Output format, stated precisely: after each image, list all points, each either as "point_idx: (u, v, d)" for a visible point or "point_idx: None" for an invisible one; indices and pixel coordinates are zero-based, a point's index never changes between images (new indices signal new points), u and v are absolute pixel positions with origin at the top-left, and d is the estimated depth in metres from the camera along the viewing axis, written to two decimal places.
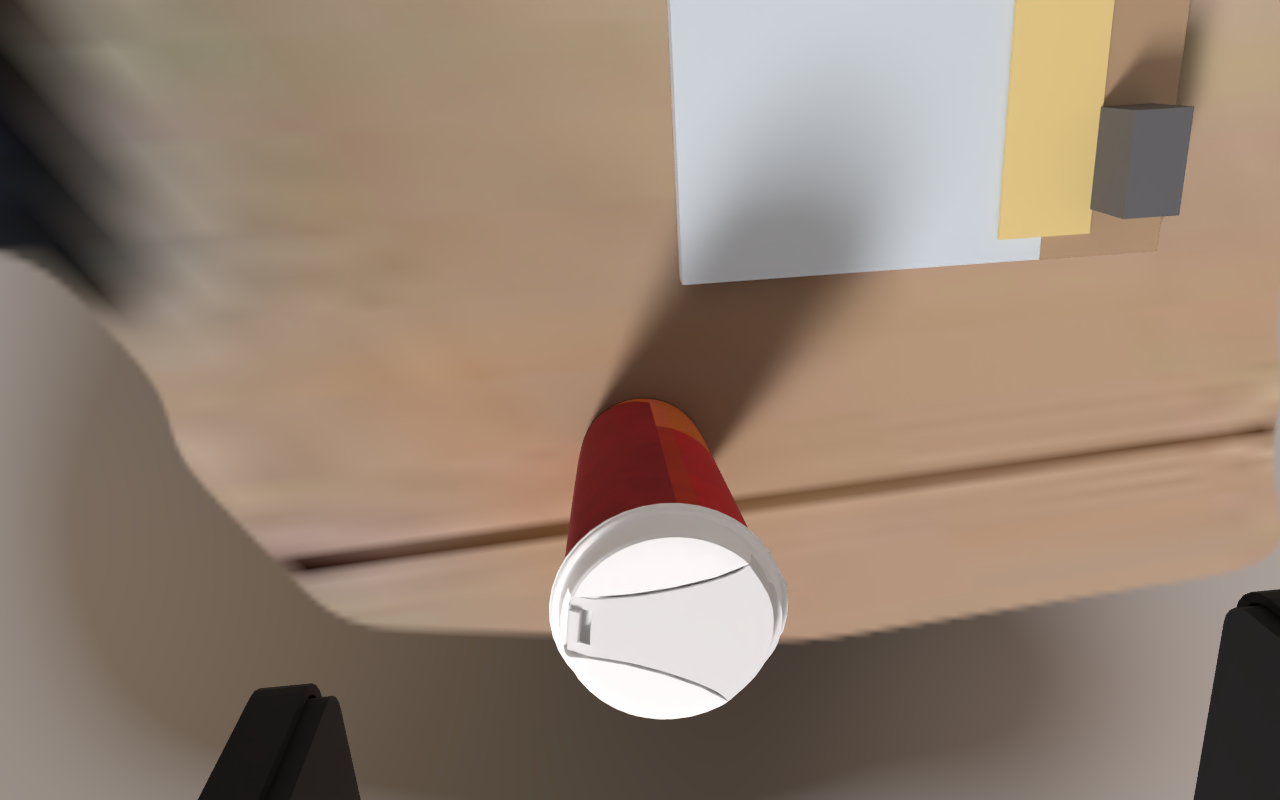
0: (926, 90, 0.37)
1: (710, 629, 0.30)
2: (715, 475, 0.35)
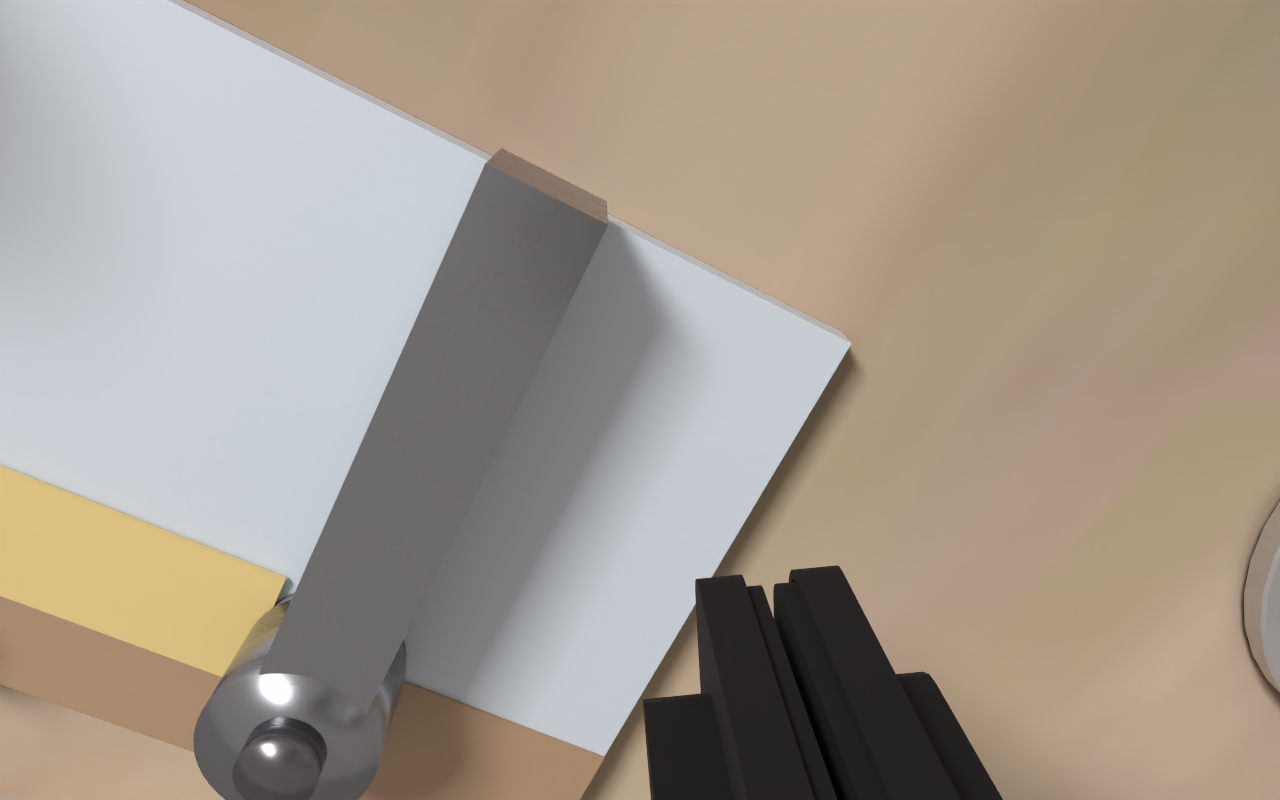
0: (35, 361, 0.24)
1: None
2: None
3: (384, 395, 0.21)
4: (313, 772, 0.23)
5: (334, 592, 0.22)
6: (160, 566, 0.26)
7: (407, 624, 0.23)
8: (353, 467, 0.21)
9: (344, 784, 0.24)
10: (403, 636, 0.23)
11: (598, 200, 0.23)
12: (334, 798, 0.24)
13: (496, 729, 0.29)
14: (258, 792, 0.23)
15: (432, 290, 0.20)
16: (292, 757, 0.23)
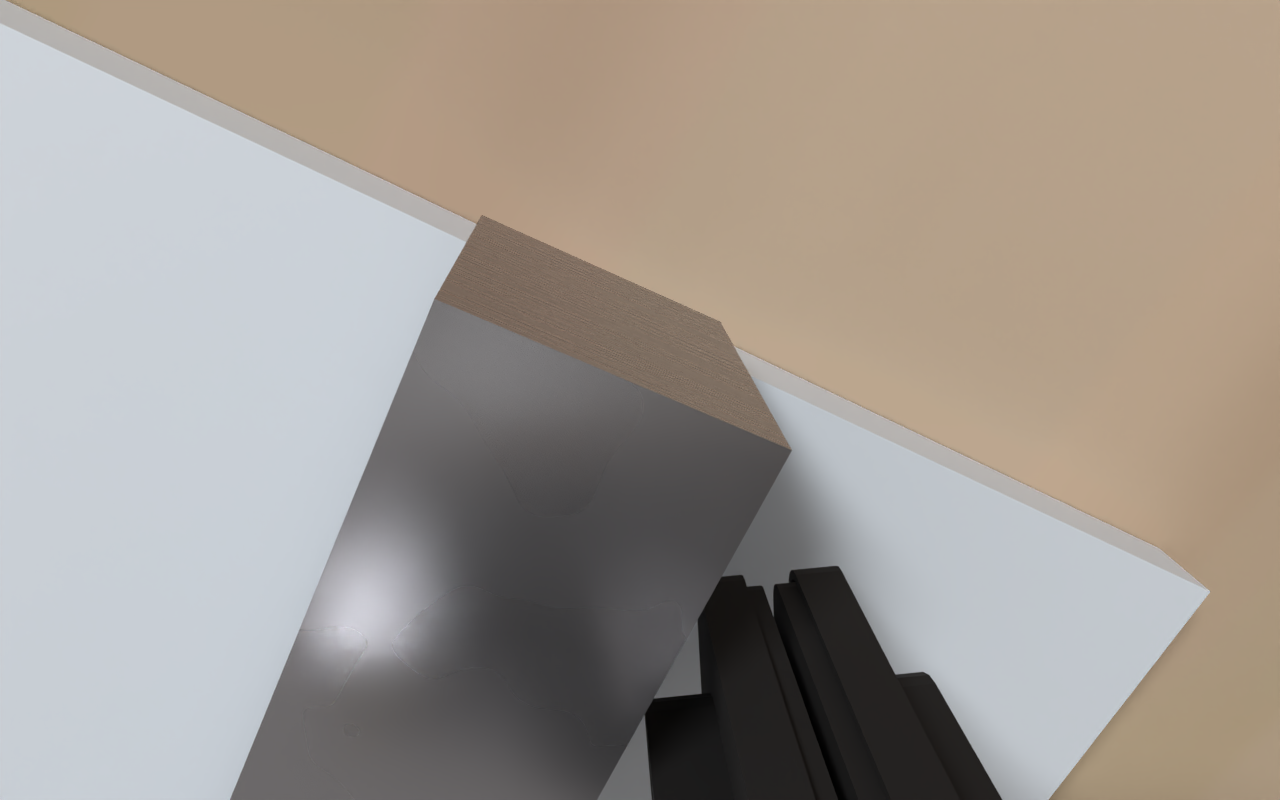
0: None
1: None
2: None
3: None
4: None
5: None
6: None
7: None
8: None
9: None
10: None
11: (709, 328, 0.10)
12: None
13: None
14: None
15: (304, 640, 0.07)
16: None
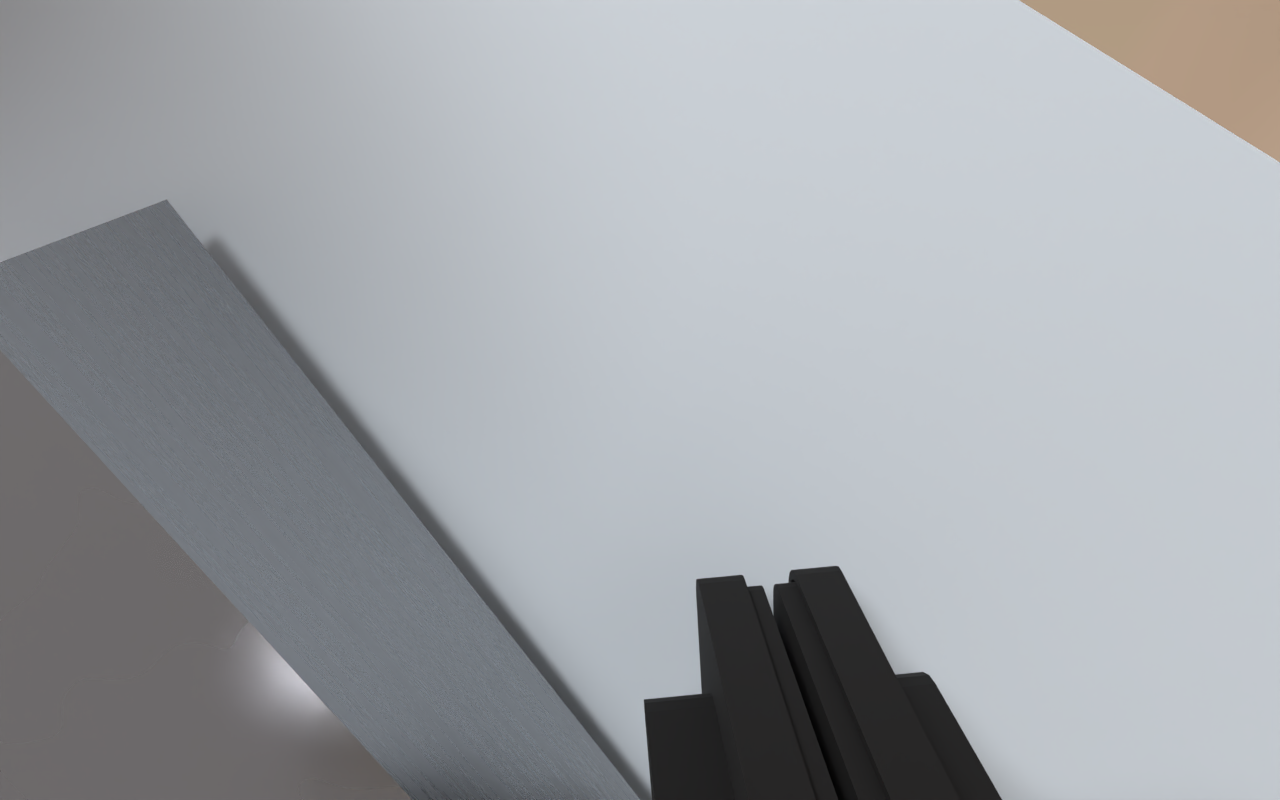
0: None
1: None
2: None
3: None
4: None
5: None
6: None
7: None
8: None
9: None
10: None
11: None
12: None
13: None
14: None
15: None
16: None
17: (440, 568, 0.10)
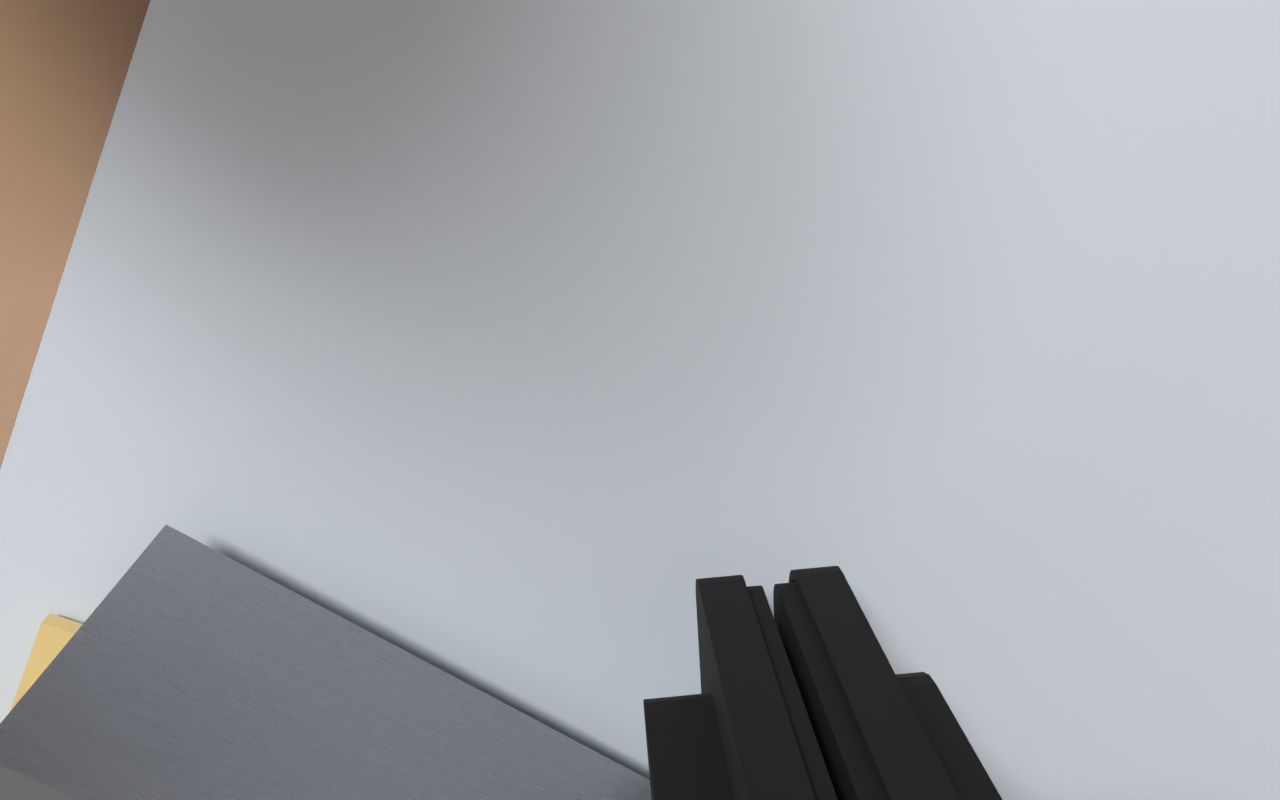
0: (628, 572, 0.12)
1: None
2: None
3: None
4: None
5: None
6: None
7: None
8: None
9: None
10: None
11: None
12: None
13: None
14: None
15: None
16: None
17: (521, 734, 0.11)
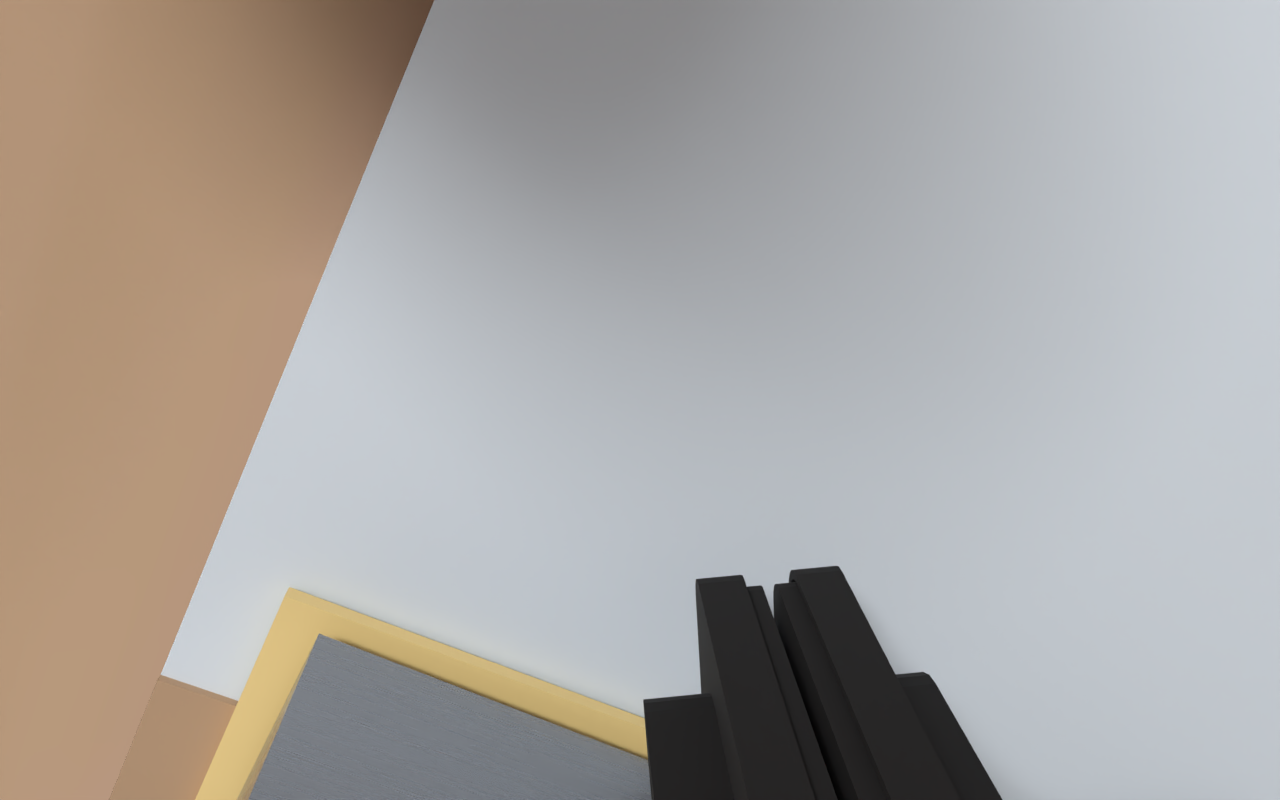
0: (842, 551, 0.12)
1: None
2: None
3: None
4: None
5: None
6: None
7: None
8: None
9: None
10: None
11: (298, 678, 0.11)
12: None
13: None
14: None
15: None
16: None
17: None
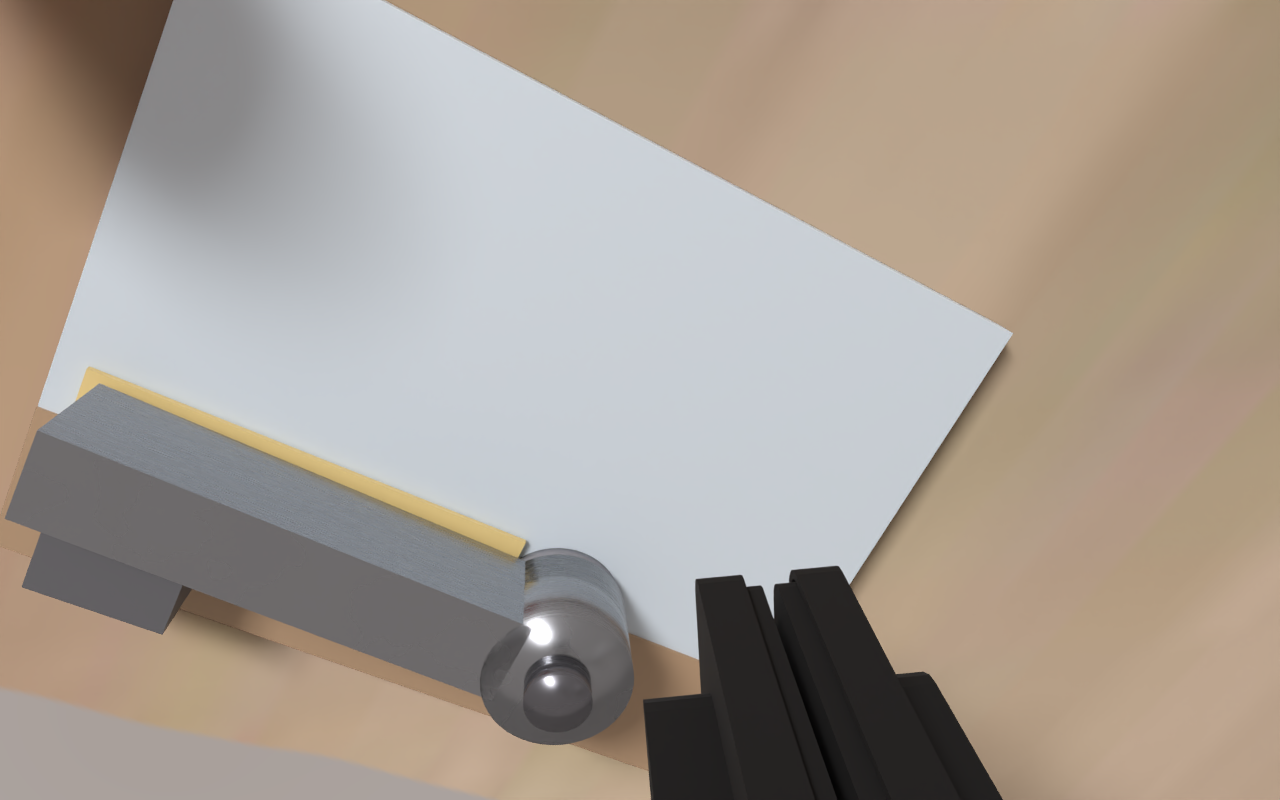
0: (328, 355, 0.28)
1: None
2: None
3: (213, 596, 0.26)
4: (552, 677, 0.27)
5: (399, 640, 0.27)
6: None
7: (429, 589, 0.27)
8: (281, 620, 0.26)
9: (596, 644, 0.28)
10: (442, 593, 0.27)
11: None
12: (611, 652, 0.28)
13: (690, 669, 0.33)
14: (571, 716, 0.27)
15: (117, 558, 0.25)
16: (537, 690, 0.27)
17: (251, 453, 0.28)
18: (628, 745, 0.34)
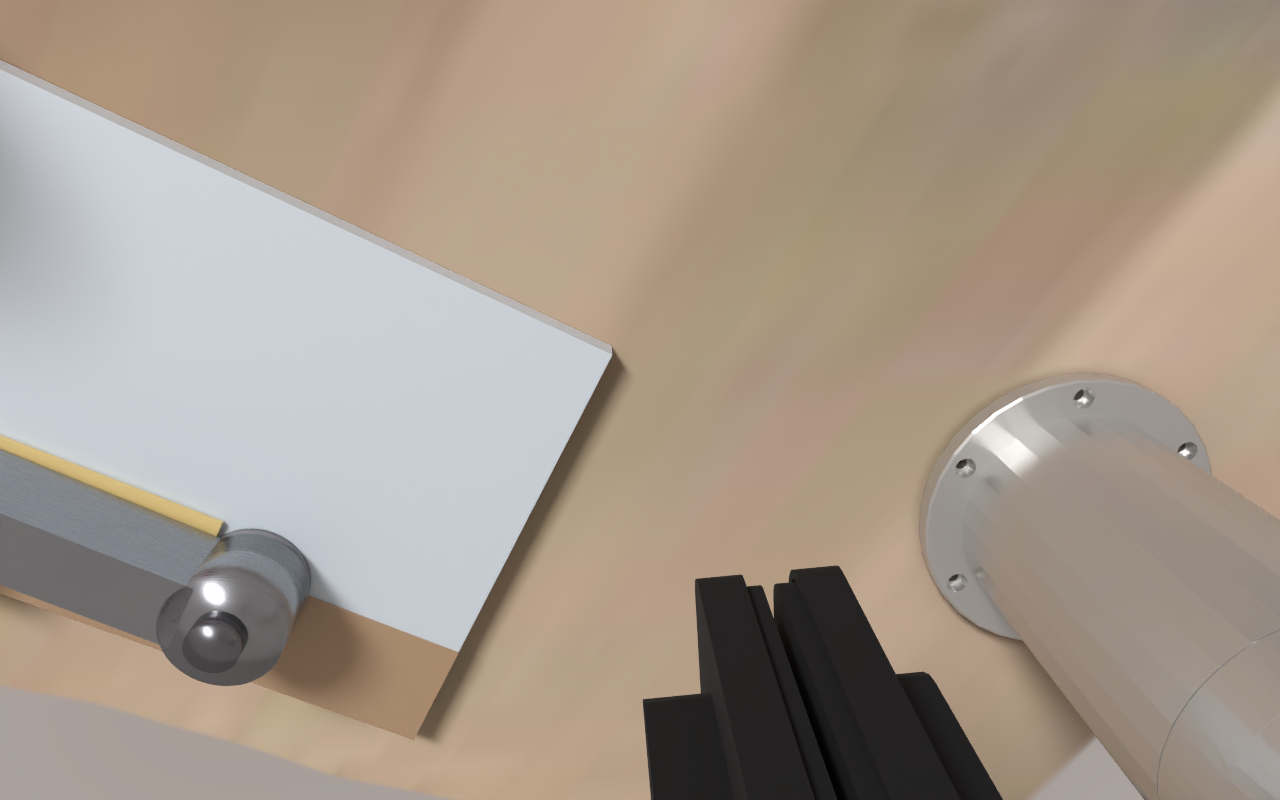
0: (44, 370, 0.35)
1: None
2: None
3: None
4: (202, 627, 0.34)
5: (86, 597, 0.34)
6: None
7: (104, 556, 0.34)
8: None
9: (247, 603, 0.35)
10: (115, 559, 0.34)
11: None
12: (261, 609, 0.35)
13: (378, 632, 0.40)
14: (223, 659, 0.34)
15: None
16: (191, 638, 0.34)
17: None
18: (334, 696, 0.41)
